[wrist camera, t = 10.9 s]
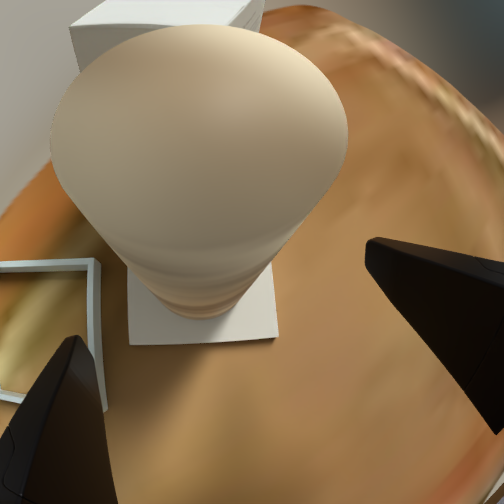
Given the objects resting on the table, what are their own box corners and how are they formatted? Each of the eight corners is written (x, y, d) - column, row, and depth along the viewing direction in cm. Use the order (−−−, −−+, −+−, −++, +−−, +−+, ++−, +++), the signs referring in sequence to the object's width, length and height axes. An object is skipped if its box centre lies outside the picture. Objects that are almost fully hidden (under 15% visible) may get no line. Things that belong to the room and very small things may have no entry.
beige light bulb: (223, 337, 17) (287, 314, 4) (133, 292, 17) (-1, 166, 4) (263, 249, 19) (368, 80, 6) (178, 210, 19) (161, 9, 6)
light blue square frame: (108, 409, 15) (101, 414, 14) (-3, 393, 14) (-14, 395, 12) (101, 264, 18) (94, 257, 17) (-4, 267, 16) (-15, 262, 15)
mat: (276, 337, 19) (278, 336, 18) (131, 345, 17) (129, 344, 16) (262, 204, 21) (264, 200, 21) (131, 208, 20) (130, 204, 19)
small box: (165, 116, 22) (160, -34, 10) (241, 134, 22) (274, -22, 10) (120, 197, 19) (63, 25, 7) (208, 222, 19) (224, 32, 7)
